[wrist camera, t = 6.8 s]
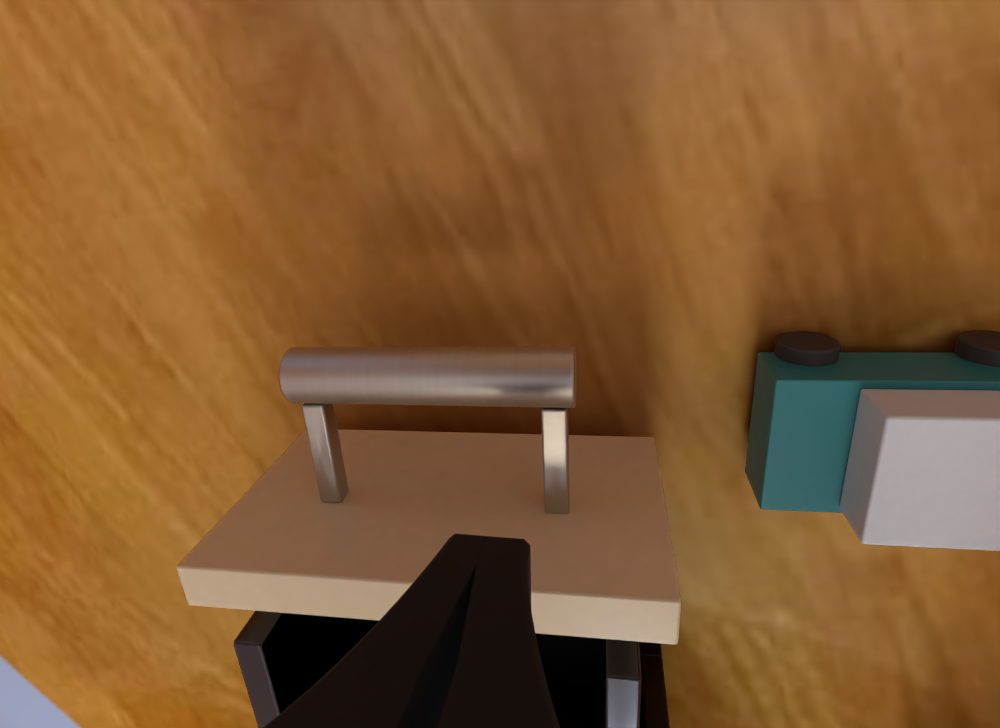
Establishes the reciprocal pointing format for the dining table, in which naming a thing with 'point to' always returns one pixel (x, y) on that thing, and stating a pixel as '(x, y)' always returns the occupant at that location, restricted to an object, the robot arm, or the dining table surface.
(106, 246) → the dining table surface
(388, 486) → the drawer
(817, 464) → the toy car
